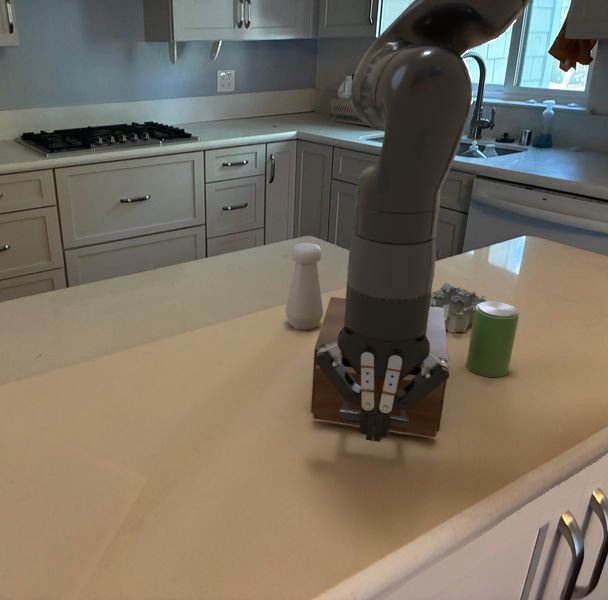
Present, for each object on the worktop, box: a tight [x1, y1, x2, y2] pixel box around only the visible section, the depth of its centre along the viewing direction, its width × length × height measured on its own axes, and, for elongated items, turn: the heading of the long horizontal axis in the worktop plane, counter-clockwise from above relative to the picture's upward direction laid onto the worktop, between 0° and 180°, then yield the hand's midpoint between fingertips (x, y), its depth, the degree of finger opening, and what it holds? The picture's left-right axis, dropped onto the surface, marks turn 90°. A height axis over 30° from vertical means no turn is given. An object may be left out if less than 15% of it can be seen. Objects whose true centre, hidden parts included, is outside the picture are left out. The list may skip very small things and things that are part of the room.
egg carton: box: [430, 282, 487, 334], centre depth 96 cm, size 11×8×4 cm
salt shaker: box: [285, 242, 324, 331], centre depth 94 cm, size 6×6×13 cm
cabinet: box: [310, 296, 450, 431], centre depth 77 cm, size 16×15×9 cm
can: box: [465, 300, 520, 378], centre depth 81 cm, size 5×5×9 cm
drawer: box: [312, 358, 443, 438], centre depth 72 cm, size 19×13×7 cm
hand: (373, 436), depth 63 cm, fingers closed
